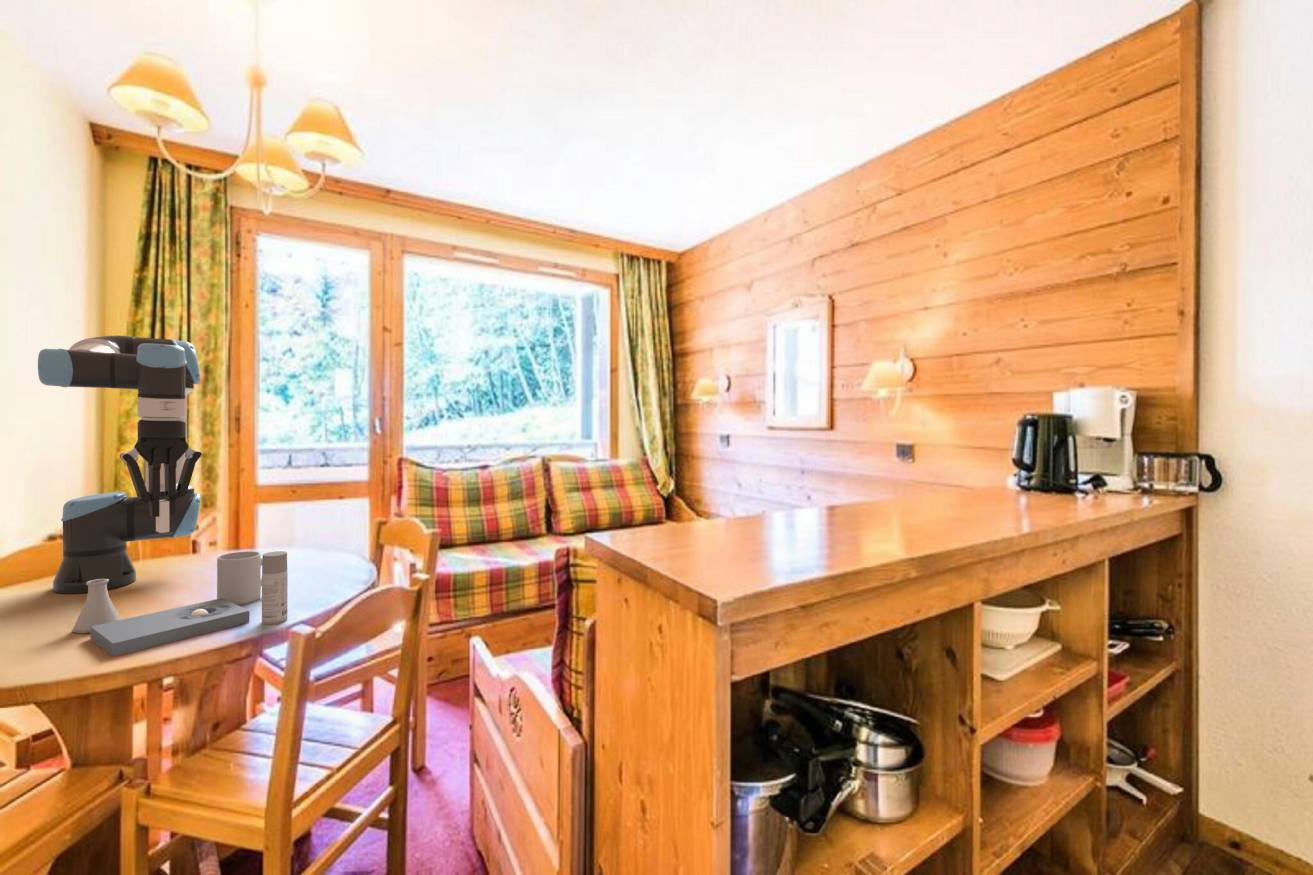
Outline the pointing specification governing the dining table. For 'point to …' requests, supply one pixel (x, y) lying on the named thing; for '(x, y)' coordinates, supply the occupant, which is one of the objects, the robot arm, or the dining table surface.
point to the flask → (96, 607)
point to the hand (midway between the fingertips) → (162, 531)
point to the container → (274, 587)
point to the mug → (239, 577)
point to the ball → (199, 612)
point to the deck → (166, 626)
